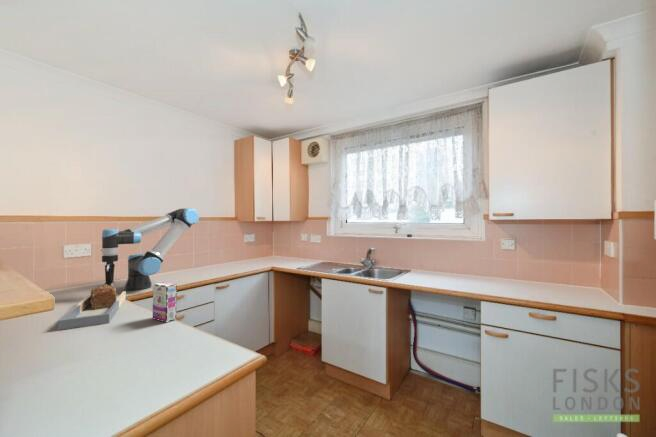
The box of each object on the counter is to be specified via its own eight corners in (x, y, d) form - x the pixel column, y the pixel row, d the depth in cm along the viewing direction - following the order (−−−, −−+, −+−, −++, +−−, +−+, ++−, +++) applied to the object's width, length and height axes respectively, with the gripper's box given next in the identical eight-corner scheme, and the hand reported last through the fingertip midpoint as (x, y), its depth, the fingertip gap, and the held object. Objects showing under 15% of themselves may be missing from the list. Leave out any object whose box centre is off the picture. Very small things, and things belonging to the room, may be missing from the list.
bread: (116, 306, 145) (116, 288, 145) (89, 310, 138) (89, 291, 138) (115, 299, 159) (115, 282, 159) (91, 302, 152) (91, 284, 153)
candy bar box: (177, 319, 126) (177, 284, 126) (166, 323, 121) (166, 286, 121) (162, 315, 131) (163, 281, 131) (151, 318, 126) (152, 283, 127)
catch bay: (125, 297, 161) (125, 291, 161) (109, 322, 121) (109, 314, 121) (88, 302, 153) (88, 294, 153) (57, 330, 113) (57, 320, 113)
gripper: (104, 254, 166) (104, 292, 165) (99, 256, 154) (98, 297, 154) (119, 253, 169) (119, 291, 169) (115, 255, 158) (115, 296, 157)
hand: (109, 294), depth 161 cm, fingers closed
